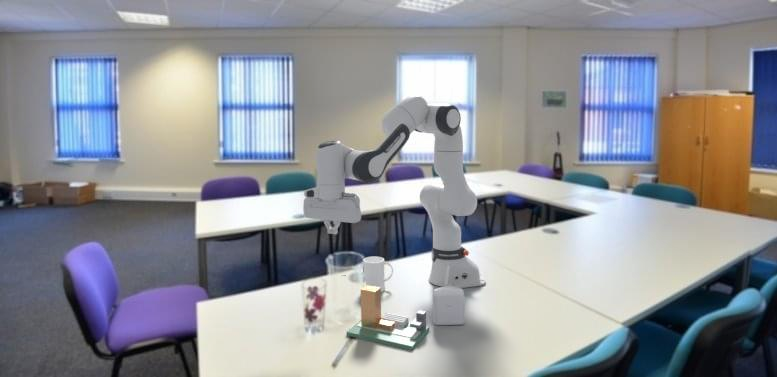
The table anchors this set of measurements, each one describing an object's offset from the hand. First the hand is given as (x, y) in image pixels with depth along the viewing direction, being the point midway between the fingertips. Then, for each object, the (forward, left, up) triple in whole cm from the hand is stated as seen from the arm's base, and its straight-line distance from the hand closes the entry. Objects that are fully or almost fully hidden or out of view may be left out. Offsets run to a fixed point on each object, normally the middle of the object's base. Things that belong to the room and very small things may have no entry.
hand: (332, 233), depth 158 cm
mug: (-16, -24, -29) cm, 41 cm away
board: (-17, +13, -29) cm, 36 cm away
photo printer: (-37, +8, -29) cm, 48 cm away
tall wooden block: (-14, +11, -28) cm, 33 cm away
